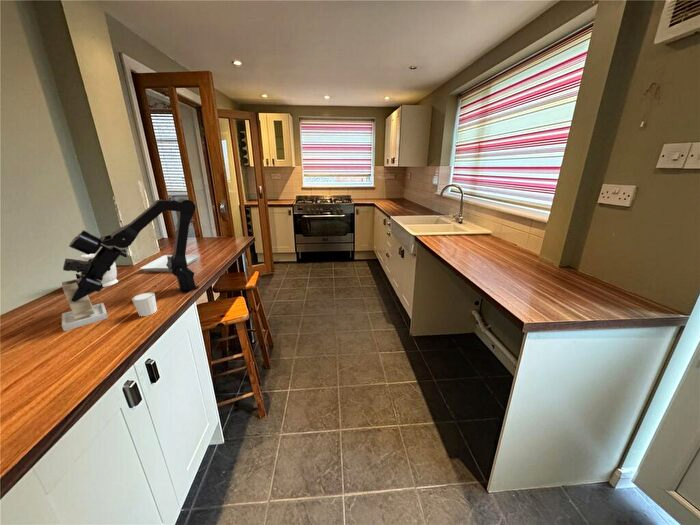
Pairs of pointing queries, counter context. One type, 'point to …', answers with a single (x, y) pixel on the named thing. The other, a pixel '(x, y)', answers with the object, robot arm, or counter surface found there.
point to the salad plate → (162, 261)
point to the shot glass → (145, 303)
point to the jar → (109, 275)
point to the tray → (83, 318)
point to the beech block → (81, 305)
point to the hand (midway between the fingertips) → (72, 298)
